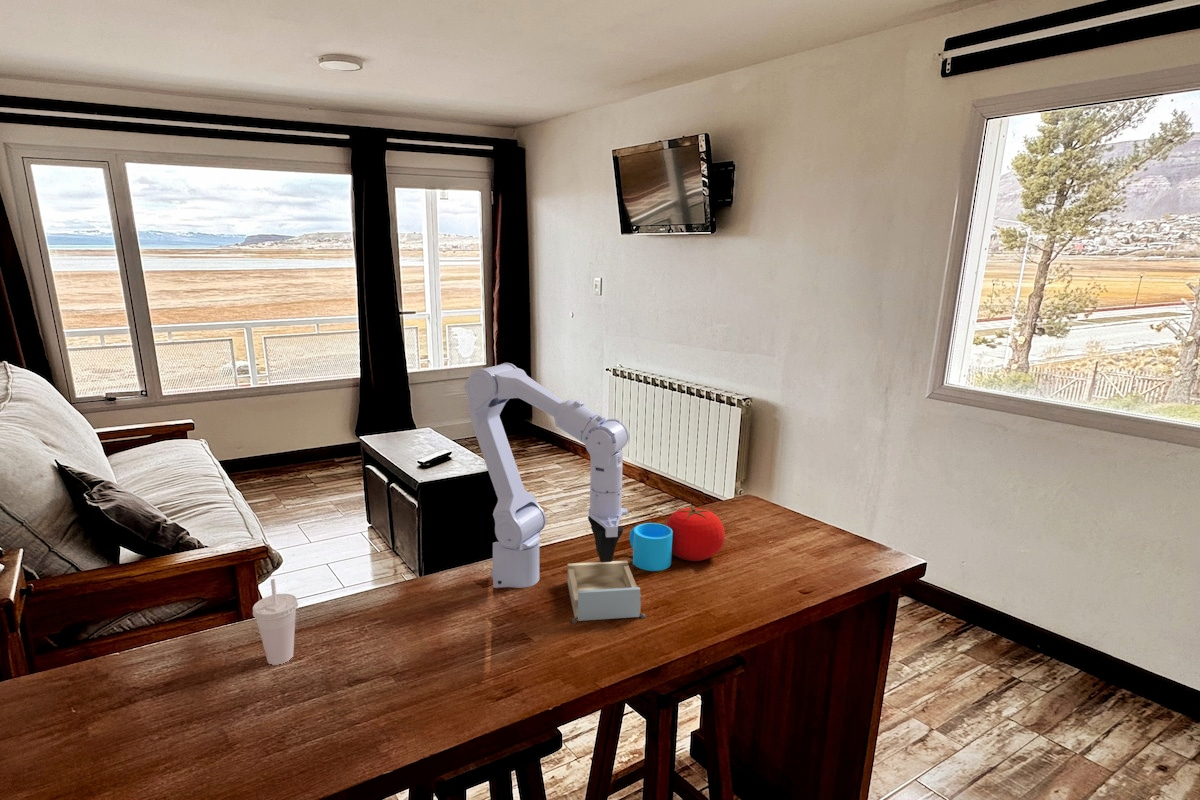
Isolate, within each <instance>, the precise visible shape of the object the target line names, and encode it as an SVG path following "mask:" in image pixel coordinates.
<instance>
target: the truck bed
mask: <svg viewBox="0 0 1200 800" xmlns="http://www.w3.org/2000/svg"><path fill="white" fill-rule="evenodd" d="M566 574H567V577H566V578H567V581H566V582H567V587H568V591H569V596H570V602H571V607H572V608H571V609H572V612H573V618H571V623H572V624H577V623H578V621H577V620H578V591H580V590H597V589H614V588H631V587H638V585H637V583H636V581H635V579H634V576H633V573H632V571H631V569H630V566H629V561H628V560H612V561H611V562H600V561H595V562H594V561H593V562H575V563H573V562H572V563H567V573H566ZM641 601H642V595H641V594H640V611H641V607H642V606H641V605H642V602H641ZM639 617H640V619H641V620H642V619H643V620H644V619H646V613H640V616H639Z"/></svg>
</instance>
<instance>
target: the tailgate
mask: <svg viewBox="0 0 1200 800" xmlns="http://www.w3.org/2000/svg"><path fill="white" fill-rule="evenodd" d="M640 595H641V587H640V586H637V587H631V588H614V589H597V590H580V591H578V618H577V620H578V621H577V622H581V621H582V622H584V621H596V620H597V621H598V620H610V619H611V620H613V619H626V618H639V617H640V614H641V610H640Z"/></svg>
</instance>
